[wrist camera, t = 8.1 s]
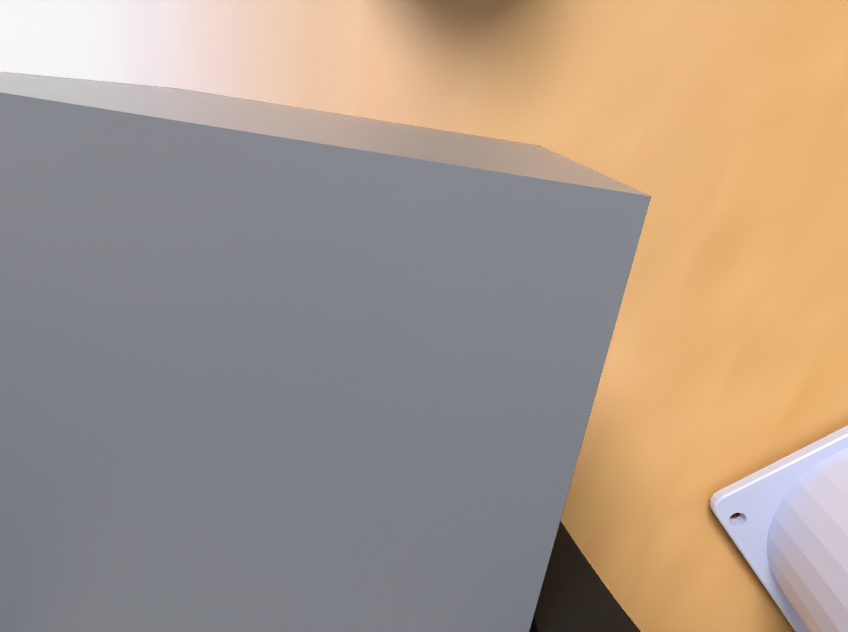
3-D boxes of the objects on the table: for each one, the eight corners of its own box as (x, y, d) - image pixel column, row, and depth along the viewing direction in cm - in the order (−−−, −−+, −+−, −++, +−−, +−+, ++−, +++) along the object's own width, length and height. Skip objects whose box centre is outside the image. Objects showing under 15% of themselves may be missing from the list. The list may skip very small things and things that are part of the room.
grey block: (433, 653, 13) (400, 1092, 7) (176, 605, 13) (-61, 995, 7) (539, 145, 9) (651, 196, 3) (176, 87, 9) (-313, 42, 3)
